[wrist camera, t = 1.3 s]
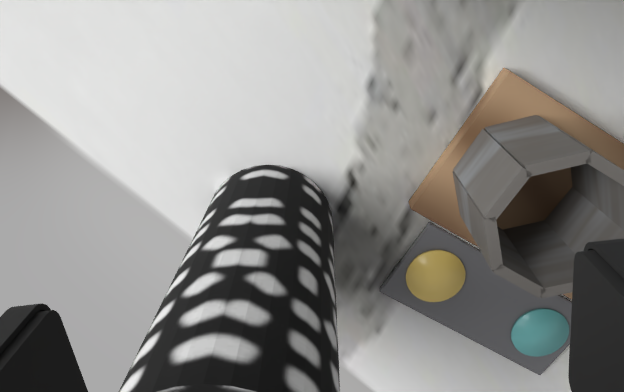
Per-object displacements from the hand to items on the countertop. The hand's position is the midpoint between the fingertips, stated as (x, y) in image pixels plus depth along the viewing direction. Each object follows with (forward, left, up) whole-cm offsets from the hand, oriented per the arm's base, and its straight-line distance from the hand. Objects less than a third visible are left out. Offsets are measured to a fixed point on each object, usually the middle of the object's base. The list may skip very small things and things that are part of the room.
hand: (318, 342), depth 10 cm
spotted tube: (+10, +2, -25) cm, 27 cm away
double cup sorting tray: (-1, +18, -25) cm, 30 cm away
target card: (+7, +18, -25) cm, 31 cm away
